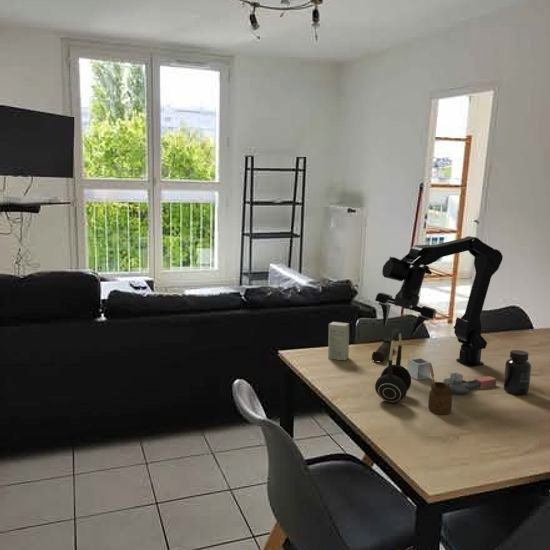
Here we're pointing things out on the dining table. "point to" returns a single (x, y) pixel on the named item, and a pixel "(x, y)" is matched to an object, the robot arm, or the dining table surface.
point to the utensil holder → (440, 396)
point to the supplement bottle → (517, 373)
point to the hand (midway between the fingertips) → (397, 330)
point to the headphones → (394, 376)
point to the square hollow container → (419, 368)
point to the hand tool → (382, 350)
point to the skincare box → (338, 341)
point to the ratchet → (467, 383)
